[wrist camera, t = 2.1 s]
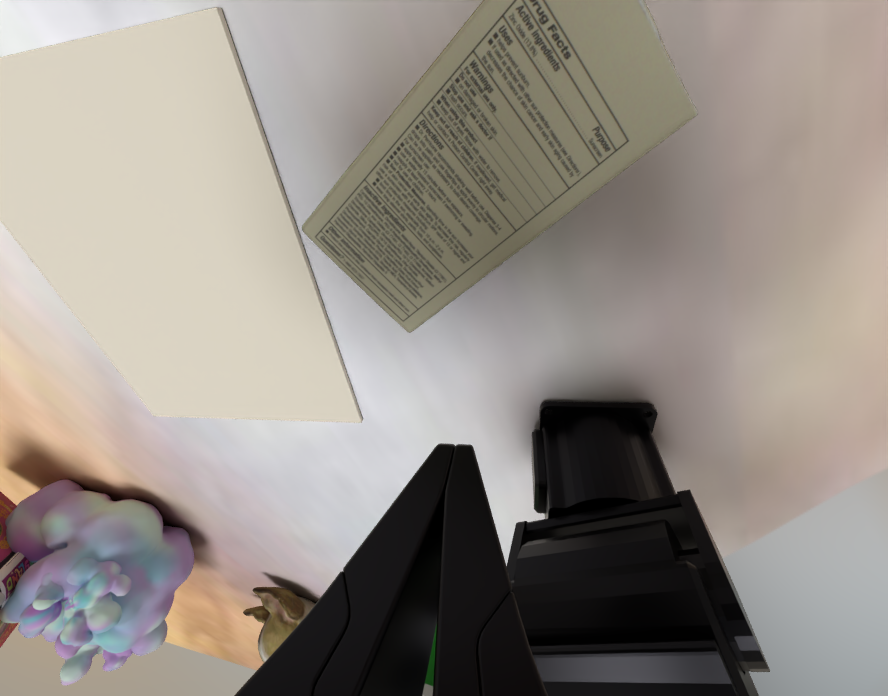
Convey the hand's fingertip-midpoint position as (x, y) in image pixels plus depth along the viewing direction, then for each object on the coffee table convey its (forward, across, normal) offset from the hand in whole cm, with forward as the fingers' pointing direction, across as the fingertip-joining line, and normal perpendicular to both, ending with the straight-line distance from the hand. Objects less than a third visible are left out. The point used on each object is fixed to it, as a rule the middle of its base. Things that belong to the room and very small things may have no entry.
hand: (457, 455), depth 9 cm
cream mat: (+12, +18, 0) cm, 22 cm away
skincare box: (+9, +5, -1) cm, 11 cm away
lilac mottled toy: (+12, +44, +28) cm, 53 cm away
